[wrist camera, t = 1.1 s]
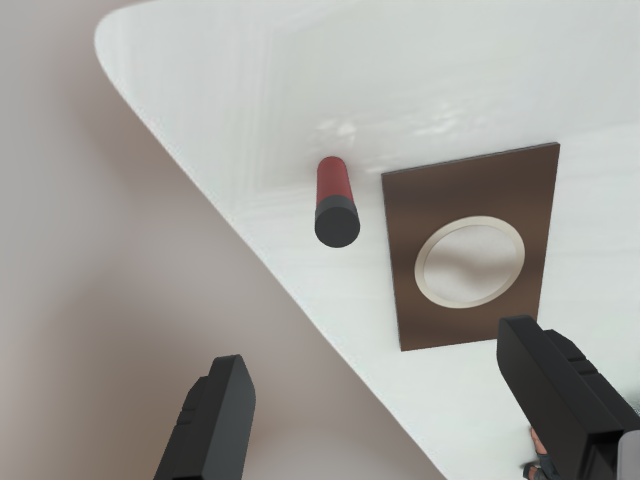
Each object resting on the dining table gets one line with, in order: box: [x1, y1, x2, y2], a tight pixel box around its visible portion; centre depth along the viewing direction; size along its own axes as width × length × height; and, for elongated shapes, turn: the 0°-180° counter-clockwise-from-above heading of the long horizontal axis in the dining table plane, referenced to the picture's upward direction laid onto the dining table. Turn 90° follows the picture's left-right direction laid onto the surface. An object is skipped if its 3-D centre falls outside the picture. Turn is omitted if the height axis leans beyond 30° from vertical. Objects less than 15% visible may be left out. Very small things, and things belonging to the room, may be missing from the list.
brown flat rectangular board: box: [381, 142, 560, 351], centre depth 32 cm, size 20×14×1 cm
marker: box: [315, 157, 360, 248], centre depth 24 cm, size 2×2×11 cm
